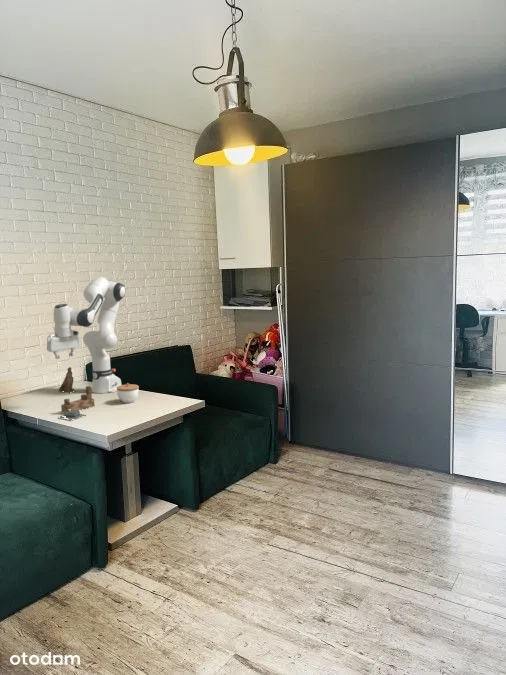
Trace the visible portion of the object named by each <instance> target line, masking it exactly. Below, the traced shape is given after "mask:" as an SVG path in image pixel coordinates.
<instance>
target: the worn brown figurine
mask: <svg viewBox="0 0 506 675" xmlns="http://www.w3.org/2000/svg"><path fill="white" fill-rule="evenodd" d="M72 369H73V368H72V367H71V366H70V367H68V368H67V372H66V374H65V377H64V379H63V381H62V382H61V383H62V384H61V385H60V386H59V387H58V392H59V391H64V392H63V393H65V392H73V391H75V392H76V390H75V389H74V388H73V385H74V377H73V371H72ZM73 393H74V392H73Z"/></svg>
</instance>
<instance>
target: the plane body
mask: <svg viewBox="0 0 506 675" xmlns="http://www.w3.org/2000/svg"><path fill="white" fill-rule="evenodd" d="M91 390H92V386H91V385H88V386H85V393H84V394H81V395H80V399H77V400H74V401H73V400H72V401H70V398H65V399H64V400H63V402H64V403H62V404H60V406H61V407H60V408H61V413H62V412H64V411H66V410H67V409H71V410H81V411H83V410H82V409H84V410H87V409H90V408H89V407H91V408H94V407H95V398H92V396H93V395H92V392H91ZM93 406H94V407H93ZM86 408H87V409H86Z"/></svg>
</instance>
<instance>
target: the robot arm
mask: <svg viewBox="0 0 506 675" xmlns="http://www.w3.org/2000/svg"><path fill="white" fill-rule="evenodd" d="M126 292H127V290H126V286H125V285H124V284H123V283H120V282H115V281H113V280H112V281H111V280H108V279H107V278H105V277H104V276H98V277H95V278H94V279H92V280H91V282H90V283H88V285H86V287H84V290H83V297H84V299H85V300H86V301H87V302H88V303H89V305H88V307H86V308H83V309H78V308H72V307H70V306H69V304H67V303H59V304H56V305H55V306H54V307H53V323H54V327H53V328H54V329H53V330H54V334H49V335H48V336H47V338H46V340H47V341H46V350H47V352H49V353H51V352H52V353H53V355H54V358H55V359H56V360H59V359H60V355H59V354H58V353H59V351H65V350H70V352H69V353H68V356H69V357H74V352H75V349H76V348H79V347H80V346H81V339H80V336H79V334H80V332H79V331H78V330H74V329H72V326H73V327H83V328H84V327H85V328H89V327H91V325H93V323H94V321H95V318H96V316H97V314H98V316H97V319H96V320H97V323H98V324H99V331H98V330H91V331H87V332H85V334H84V335H83V338H82V340H83V343H84V345H85V346H86V347H87V349H88V351H89V353H90V356H91V363H92V370H91V371H92V372H91V373H92V374H91V375H92V386H91V393H95V394H106V393H107V394H108V393H115V392H117V387H118V386H121V385H123V384H122V380H121V378H120V377H118V376H116V374H114V373H115V372H116V368H111V357H110V355H109V354H107V352H106V350H111V349H114V348H115V347H117V344H118V337H117V335H116V333H115V324H116V320H117V317H118V314H119V309H120V302H121V300H123V298H124V297H125V296H126ZM98 312H99V313H98Z"/></svg>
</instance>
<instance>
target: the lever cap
mask: <svg viewBox="0 0 506 675" xmlns="http://www.w3.org/2000/svg"><path fill="white" fill-rule="evenodd" d="M63 414H64V415H63V416H67V417H74V418H75V417H78V416H80V414H81V412H80V411H79V410H71V409H67V410H66V411H64V413H63Z"/></svg>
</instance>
